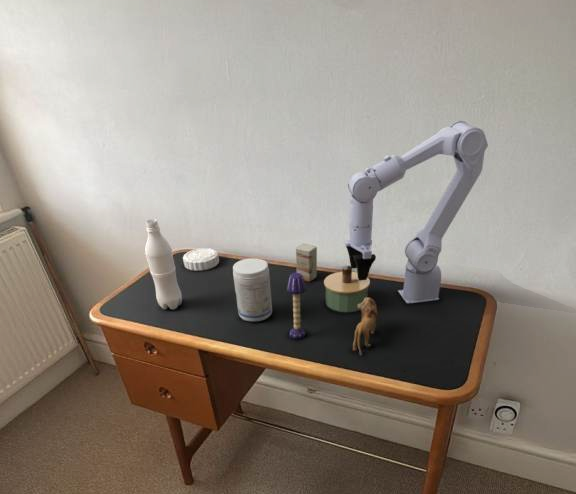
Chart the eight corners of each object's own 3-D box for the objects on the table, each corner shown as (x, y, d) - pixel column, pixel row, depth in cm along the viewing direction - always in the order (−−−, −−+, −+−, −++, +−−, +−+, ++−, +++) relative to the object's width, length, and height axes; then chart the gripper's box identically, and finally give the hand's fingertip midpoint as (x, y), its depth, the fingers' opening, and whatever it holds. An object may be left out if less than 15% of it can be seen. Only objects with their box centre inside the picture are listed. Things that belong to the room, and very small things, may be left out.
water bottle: (188, 304, 136) (170, 219, 121) (168, 314, 132) (147, 227, 117) (174, 297, 140) (154, 214, 125) (154, 306, 136) (131, 222, 121)
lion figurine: (356, 324, 123) (358, 294, 117) (377, 326, 122) (379, 295, 116) (350, 356, 112) (351, 324, 106) (373, 358, 110) (375, 325, 105)
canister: (360, 291, 137) (361, 271, 133) (372, 310, 128) (373, 289, 124) (322, 296, 136) (322, 276, 132) (330, 316, 127) (330, 295, 123)
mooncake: (179, 270, 155) (177, 260, 153) (191, 256, 164) (189, 246, 162) (213, 271, 153) (212, 261, 151) (223, 256, 163) (222, 246, 160)
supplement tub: (240, 306, 134) (234, 258, 125) (273, 305, 133) (269, 256, 124) (237, 324, 126) (230, 274, 117) (272, 322, 126) (267, 272, 117)
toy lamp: (292, 328, 123) (289, 269, 112) (309, 330, 122) (307, 271, 111) (287, 338, 119) (283, 278, 109) (304, 340, 118) (302, 280, 108)
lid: (362, 272, 134) (363, 255, 130) (375, 292, 124) (376, 275, 121) (319, 277, 133) (319, 260, 129) (329, 298, 123) (329, 280, 120)
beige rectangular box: (296, 278, 146) (294, 248, 140) (303, 273, 149) (302, 243, 142) (310, 282, 143) (309, 251, 137) (317, 276, 146) (317, 246, 140)
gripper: (338, 216, 123) (338, 264, 132) (352, 236, 112) (351, 287, 121) (364, 213, 124) (362, 261, 133) (381, 232, 113) (377, 283, 121)
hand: (358, 273), depth 127 cm, fingers open, 7 cm apart
